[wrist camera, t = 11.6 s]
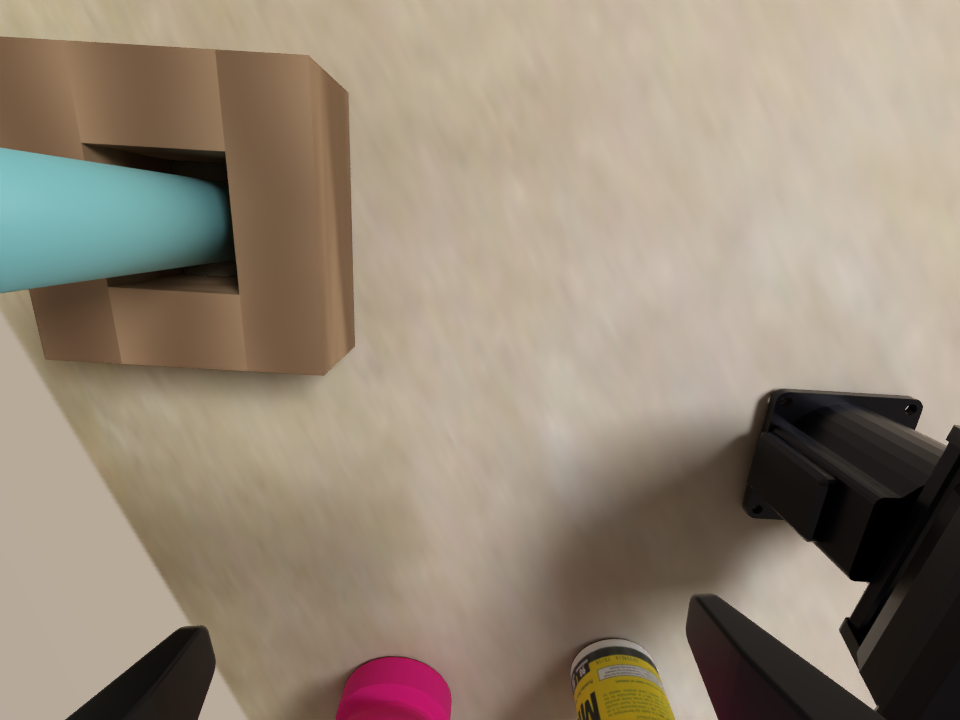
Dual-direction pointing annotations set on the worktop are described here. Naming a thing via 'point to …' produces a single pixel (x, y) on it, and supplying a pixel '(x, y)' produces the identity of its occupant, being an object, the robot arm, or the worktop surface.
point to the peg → (104, 221)
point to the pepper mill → (395, 692)
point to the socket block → (252, 187)
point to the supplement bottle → (618, 683)
